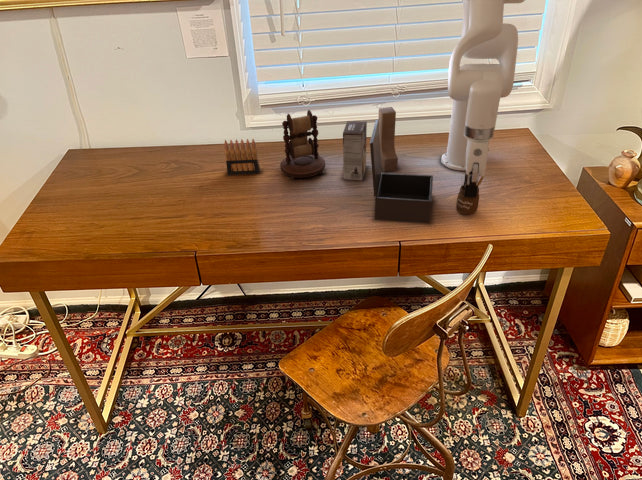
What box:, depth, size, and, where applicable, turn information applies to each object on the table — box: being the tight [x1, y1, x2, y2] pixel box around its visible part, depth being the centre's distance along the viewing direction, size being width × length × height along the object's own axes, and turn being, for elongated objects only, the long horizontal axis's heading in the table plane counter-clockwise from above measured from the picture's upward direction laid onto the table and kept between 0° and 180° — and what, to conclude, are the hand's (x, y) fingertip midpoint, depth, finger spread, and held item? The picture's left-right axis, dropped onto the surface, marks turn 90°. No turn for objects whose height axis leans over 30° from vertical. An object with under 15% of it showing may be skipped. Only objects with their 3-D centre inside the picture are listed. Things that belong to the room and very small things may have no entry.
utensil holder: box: [455, 173, 485, 215], centre depth 153 cm, size 6×6×12 cm
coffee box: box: [342, 120, 368, 181], centre depth 172 cm, size 9×6×16 cm
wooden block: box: [377, 106, 399, 172], centre depth 175 cm, size 9×4×18 cm, turn 10°
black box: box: [374, 172, 434, 224], centre depth 158 cm, size 15×14×7 cm
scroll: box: [279, 109, 326, 181], centre depth 174 cm, size 15×15×20 cm
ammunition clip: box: [224, 138, 261, 176], centre depth 177 cm, size 11×2×12 cm, turn 90°
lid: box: [369, 119, 383, 198], centre depth 152 cm, size 16×14×1 cm
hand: (469, 190), depth 153 cm, fingers closed on utensil holder, 5 cm apart
